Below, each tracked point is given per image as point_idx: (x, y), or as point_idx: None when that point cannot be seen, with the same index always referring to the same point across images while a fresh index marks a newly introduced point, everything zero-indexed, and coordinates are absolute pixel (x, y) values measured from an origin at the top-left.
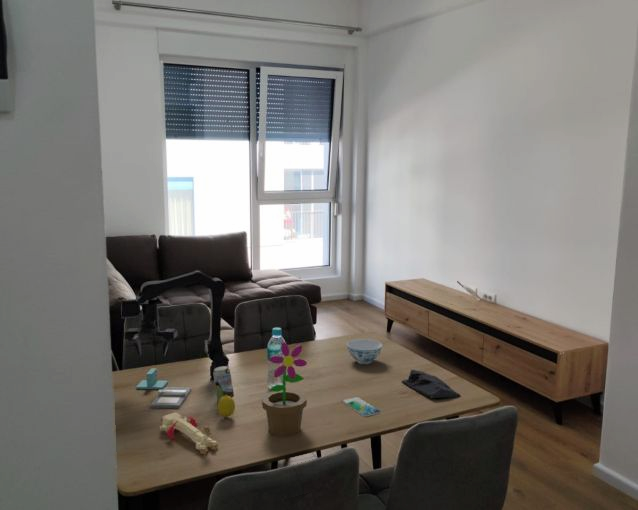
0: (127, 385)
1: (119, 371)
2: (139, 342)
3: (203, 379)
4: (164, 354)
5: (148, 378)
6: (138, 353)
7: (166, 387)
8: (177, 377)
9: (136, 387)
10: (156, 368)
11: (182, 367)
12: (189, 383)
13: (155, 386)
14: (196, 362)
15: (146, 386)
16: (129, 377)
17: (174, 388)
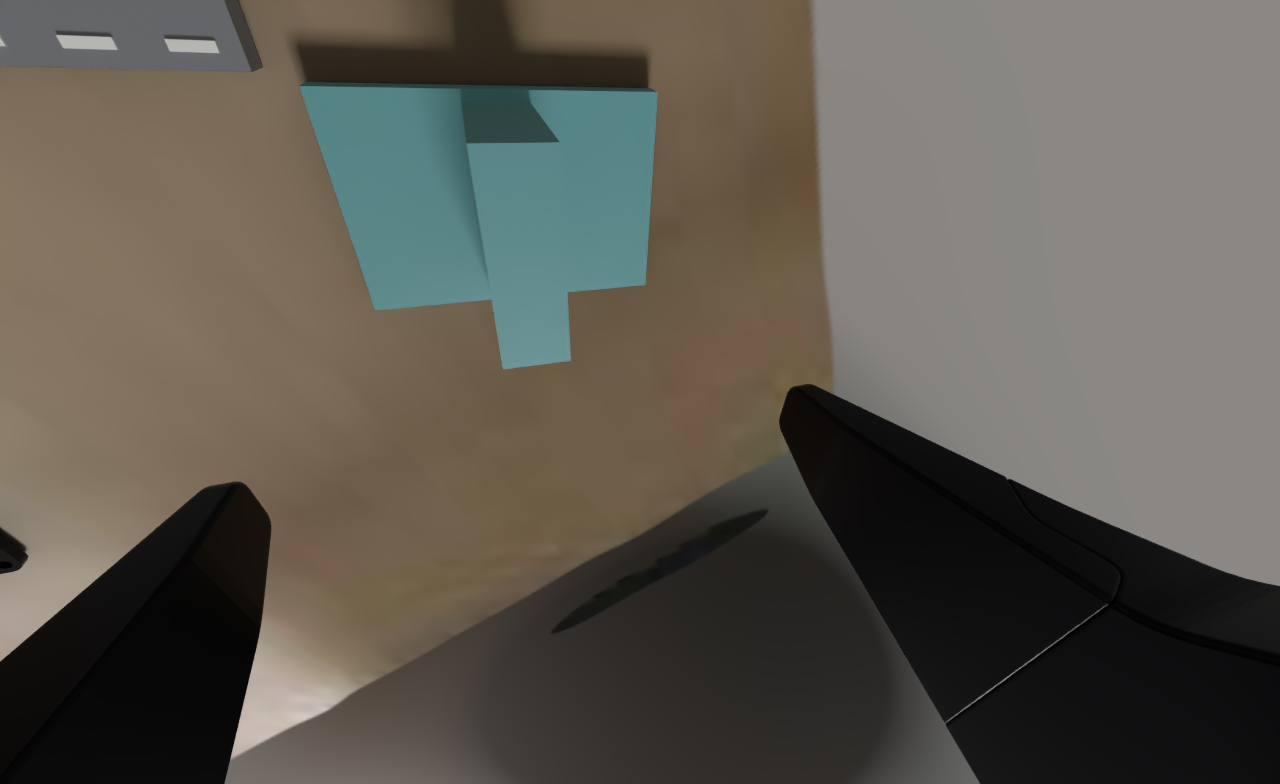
0: (752, 189)
1: None
2: (988, 675)
3: (13, 440)
4: (166, 524)
5: (519, 124)
6: (849, 406)
7: (212, 61)
8: (366, 423)
9: (652, 90)
10: (505, 365)
11: (447, 561)
12: (84, 318)
13: (421, 113)
14: (398, 630)
15: (539, 105)
16: (759, 351)
17: (16, 12)
